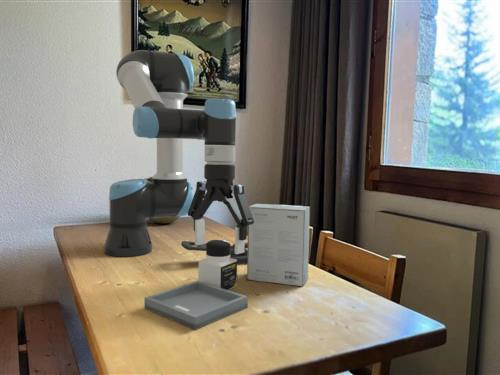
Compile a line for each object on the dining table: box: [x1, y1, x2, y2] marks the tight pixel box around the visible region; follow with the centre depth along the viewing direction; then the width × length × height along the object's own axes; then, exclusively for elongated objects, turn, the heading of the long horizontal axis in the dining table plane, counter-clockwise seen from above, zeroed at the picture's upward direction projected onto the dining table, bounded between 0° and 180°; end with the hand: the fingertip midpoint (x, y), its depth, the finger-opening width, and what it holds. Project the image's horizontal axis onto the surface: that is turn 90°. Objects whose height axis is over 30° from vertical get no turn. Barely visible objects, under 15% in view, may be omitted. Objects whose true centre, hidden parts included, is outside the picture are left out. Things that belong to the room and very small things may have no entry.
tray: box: [144, 280, 249, 331], centre depth 97 cm, size 16×16×2 cm
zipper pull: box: [180, 240, 248, 266], centre depth 134 cm, size 9×7×25 cm
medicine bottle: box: [197, 239, 238, 291], centre depth 111 cm, size 7×7×12 cm
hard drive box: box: [246, 203, 311, 287], centre depth 118 cm, size 16×8×20 cm, turn 71°
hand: (218, 248), depth 110 cm, fingers open, 13 cm apart
